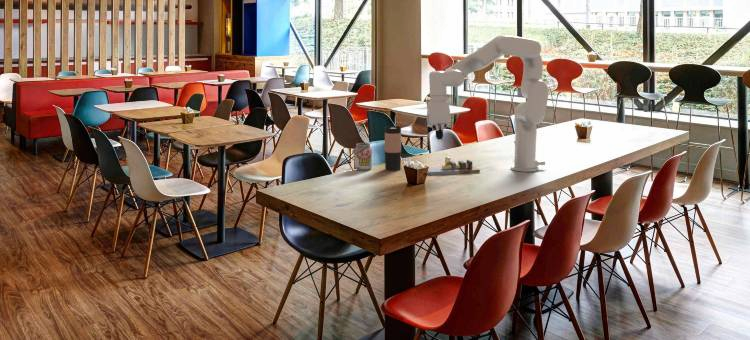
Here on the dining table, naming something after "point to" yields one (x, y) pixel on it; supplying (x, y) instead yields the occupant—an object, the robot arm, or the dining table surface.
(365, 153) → the glass jar
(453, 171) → the door plate
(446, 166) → the bolt
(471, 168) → the jamb keeper
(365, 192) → the dining table surface
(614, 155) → the dining table surface
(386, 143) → the travel mug
